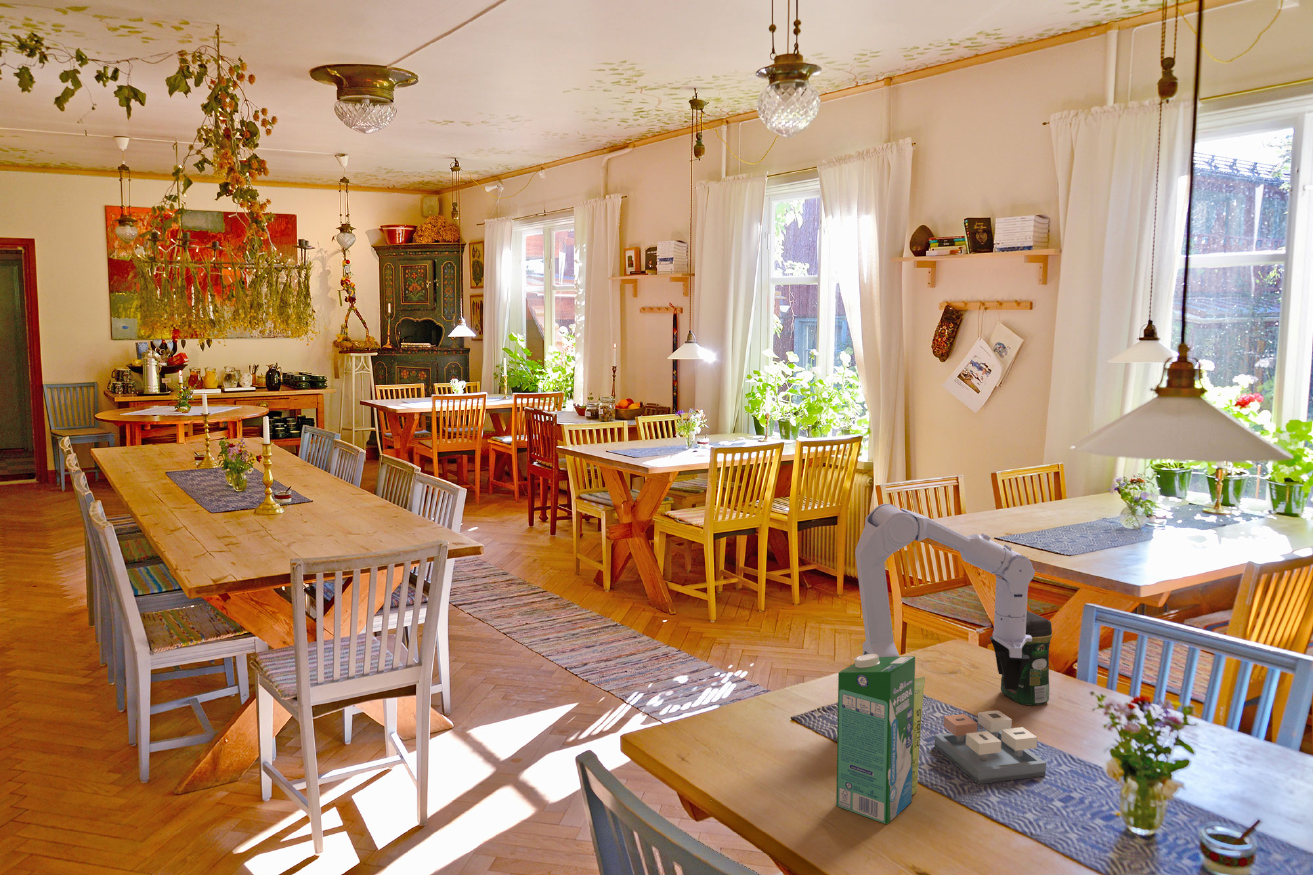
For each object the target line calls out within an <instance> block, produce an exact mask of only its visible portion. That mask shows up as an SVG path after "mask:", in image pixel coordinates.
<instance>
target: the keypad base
mask: <svg viewBox="0 0 1313 875" xmlns="http://www.w3.org/2000/svg"><path fill="white" fill-rule="evenodd" d="M983 731H988V730H987V729H985V728H983V729H977V732H983ZM988 732H989V731H988ZM989 733H990V732H989ZM1001 734H1002V731H999V732H998V739H999V740H1000V741H1001V752H1000V753H991V754H987V761H981V760H979V755H978V754H977V753H976V752H975V751H973V750H972V749H971V748H970V747H968V746H967V745H966V735H964V742H957V741H956V736H955V735H954V734H952V733H951V732H947V733H938V734H934V748H935V749H936V750H938V751H939V752H940V754H942V755H943V756H944V757H946V759H948V760H949V761H950V762H951V763H953V764H954V766H956V767H957V768H958V769H959V770H961V771H962V772H963V773H964V774H965V775H966V776H967V777H968V778H970V779H971V780H973V782H975V783H976V784H977V785H982V784H990V783H991V784H992V783H999V782H1009V781H1014V780H1022V779H1023V780H1024V779H1032V778H1039V777H1046V773H1047V772H1046V771H1047V770H1046V769H1047V768H1046V767H1047V763H1046V761H1044V760H1043V759H1041V758H1040V757H1039V756H1038V755H1036V754H1034V752H1032V751H1030V749H1025V750H1023V756H1022V757H1017V756H1015V755H1014V749H1012V748H1011V747H1010V746H1008V745H1007V744H1006V743H1004V742H1003V741H1002V740H1001Z"/></svg>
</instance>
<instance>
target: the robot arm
mask: <svg viewBox="0 0 1313 875" xmlns="http://www.w3.org/2000/svg"><path fill="white" fill-rule="evenodd" d="M927 538H928V539H930V540H932V541H935V542H937V543H939V544H942V545H944V546H946V547H949V548H951V549H953V550H955V551H957V552H959V553H960V556H961V559H962V561H964V562H966V563H968V564H970V565H972V566H974V567H977V568H979V569H980V570H983V571H984V572H987V573H989V574H992V575H995V577H996V578H995V591H994V592H995V595H994V596H995V598H994V599H995V600H994V619H993V620H994V622H993V632H992V635H991V636H989V640H990V642H991V643H992V647H993V650H994V656H995V663H996V667H997V672H998V675H1001V676H1002V675H1003V680H1004V686H1005V689H1011V690H1017V688H1018V685H1019V682H1020V678H1021V675H1022V672H1023V670H1024V668H1025V666H1026V665H1027V663H1028V662H1029V659H1030V657H1029V656H1028V655H1022V647H1023V646H1024V644H1025V643H1026V642H1027V641H1029V642H1031V641H1032V637H1031V636H1030V635H1026V615H1027V611H1028V591H1029V584H1030V582H1031V581H1032V580H1033V578H1034V576H1035V573H1036V570H1035V569H1034V567H1033V563H1032V561H1031V560H1030V559H1029V558H1028V557H1027V556H1025V555H1023V554H1021V553H1020V552H1017V551H1015V550H1013V548H1012V547H1011V546H1010V545H1008V544H1004V545H1002V544H1000V543H998V542H996V541H993V540H991V539H992V538H991V536H989V535H988V534H986V533H984V532H982V533H981V534H978V533H972V534H970V535H967V536H966V535H964V534H961V533H960V532H958V531H956V530H954V529H951V528H950V527H948V526H946V525H944V524H942V523H940V522H938V521H936V520H934V519H932V518H930V517H928V516H926V515H924V514H921V513H918V512H914V511H912V510H910V509H906V508H901V507H900V509H899V508H898V507H897V506H895V505H894V504H892V503H882V504H879V505H878V506H877V505H876V507H875V508H874V509H873V510H871V512H870V513H869V514H868V515H867V516H866V517H865V522H864V527H863V530H862V533H861V535H860V537H859V540H858V543H857V545H856V546H855V547H856V548H855V553H854V554H855V562H856V571H857V572H856V573H857V580H858V586H859V596H860V601H861V602H860V603H861V604H860V605H861V610H862V619H863V626H864V628H863V629H864V636H865V641H864V642H863V643H862V655H866V654H877V655H878V657H900V654H899V651H898V648H897V647H896V644H895V640H894V632H893V626H892V624H893V623H892V617H891V610H890V609H891V608H890V599H889V598H890V597H889V590H888V582H887V575H886V566H885V565H886V564H885V562H886V561H887V560H888V558H890V557H891V556H892V555H893V554H894V553H896V552H898V551H900V550H901V549H903V548H905V547H906V546H909V545H910V544H911V543H913V541H917V542H921V541H923V540H925V539H927Z"/></svg>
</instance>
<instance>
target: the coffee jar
mask: <svg viewBox="0 0 1313 875" xmlns="http://www.w3.org/2000/svg"><path fill="white" fill-rule="evenodd" d="M1052 626H1053V625H1052V621H1051V620H1049V619H1047V618H1045V617H1043V616H1041V615H1038V614H1036V613H1033V612H1032V611H1029V610H1027V615H1026V635H1030V636H1031V637H1032V641H1031V642H1029V641H1027V642H1026V643H1025V644H1024V646H1023V647H1022V655H1028V656H1029V657H1030V659H1029V662H1028V663H1027V665H1026V666H1025V668H1024V670H1023V672H1022V675H1021V678H1020V682H1019V685H1018V688H1017V690H1011V689H1005V686H1004V680H1003V675H1002V674H1001V677H1000V678H1001V679H1000V681H1001V682H1000V691H1001V693H1002V694H1003V695H1005V696H1006V697H1007V698H1009V699H1010V700H1012V701H1014V702H1015V703H1017V704H1020V705H1026V706H1036V707H1037V706H1042V705H1044V704H1046V703H1048V702H1049V700H1050V657H1049V656H1050V644H1051V640H1052V638H1053V629H1052V628H1053V627H1052Z"/></svg>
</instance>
